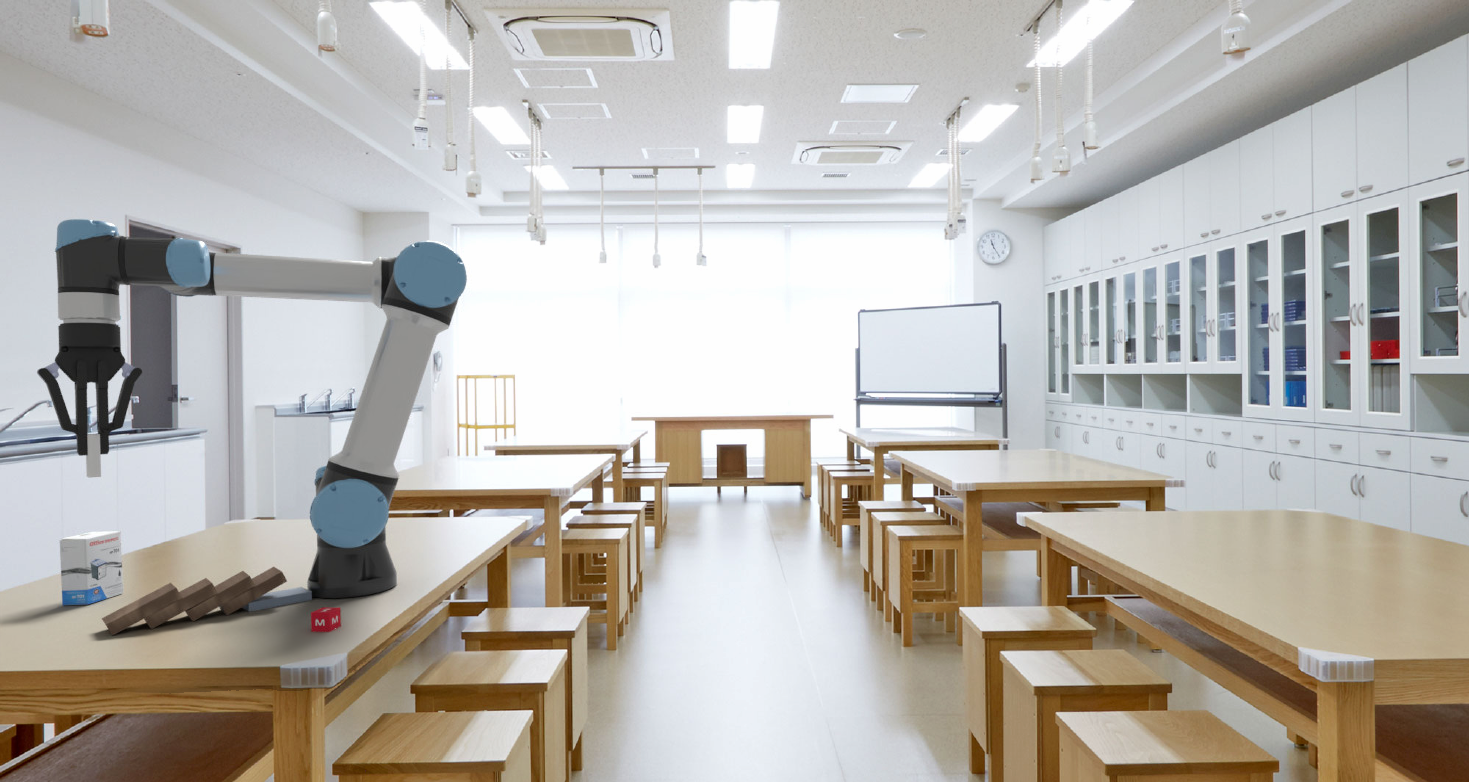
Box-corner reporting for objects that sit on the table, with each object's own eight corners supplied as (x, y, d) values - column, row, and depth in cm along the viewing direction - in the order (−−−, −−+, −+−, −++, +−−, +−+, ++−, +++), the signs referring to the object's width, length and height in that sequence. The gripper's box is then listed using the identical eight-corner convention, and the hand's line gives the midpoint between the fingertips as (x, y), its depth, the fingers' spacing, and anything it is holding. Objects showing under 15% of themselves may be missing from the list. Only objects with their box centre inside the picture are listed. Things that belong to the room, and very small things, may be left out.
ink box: (87, 605, 146) (85, 538, 146) (59, 606, 146) (57, 539, 146) (124, 593, 155) (123, 530, 155) (98, 593, 155) (96, 530, 155)
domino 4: (239, 609, 144) (301, 597, 151) (249, 614, 141) (311, 602, 148) (239, 597, 144) (301, 586, 151) (248, 602, 141) (311, 591, 148)
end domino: (108, 628, 132) (176, 592, 138) (112, 635, 128) (182, 598, 134) (101, 618, 131) (170, 582, 137) (105, 624, 127) (176, 587, 134)
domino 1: (146, 622, 135) (211, 587, 141) (151, 629, 131) (218, 593, 137) (140, 612, 134) (205, 577, 140) (144, 618, 131) (212, 582, 137)
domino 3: (220, 608, 142) (278, 575, 148) (227, 615, 138) (287, 581, 145) (214, 599, 141) (273, 566, 148) (221, 605, 138) (282, 571, 144)
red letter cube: (329, 632, 128) (329, 612, 128) (311, 631, 128) (310, 612, 128) (340, 626, 131) (340, 607, 131) (323, 626, 131) (322, 607, 131)
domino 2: (187, 614, 139) (248, 580, 145) (192, 621, 135) (255, 585, 141) (181, 605, 138) (242, 570, 144) (186, 611, 134) (249, 575, 140)
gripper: (137, 325, 135) (141, 471, 136) (32, 322, 126) (36, 478, 127) (145, 322, 130) (149, 474, 130) (36, 319, 121) (40, 482, 121)
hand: (93, 476), depth 128 cm, fingers closed
